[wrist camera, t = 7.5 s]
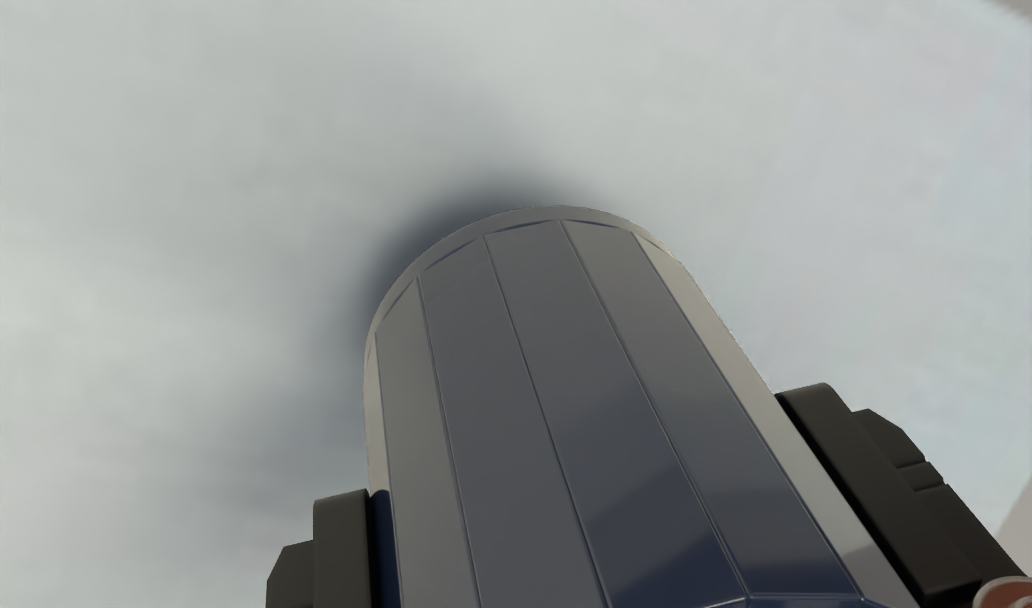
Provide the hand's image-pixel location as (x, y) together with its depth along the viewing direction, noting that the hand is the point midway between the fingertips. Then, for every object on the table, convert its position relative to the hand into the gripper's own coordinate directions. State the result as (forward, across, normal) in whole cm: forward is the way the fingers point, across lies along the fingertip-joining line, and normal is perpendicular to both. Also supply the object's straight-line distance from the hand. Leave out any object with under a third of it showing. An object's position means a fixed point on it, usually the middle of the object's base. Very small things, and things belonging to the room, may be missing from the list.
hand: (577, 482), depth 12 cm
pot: (+3, 0, 0) cm, 3 cm away
